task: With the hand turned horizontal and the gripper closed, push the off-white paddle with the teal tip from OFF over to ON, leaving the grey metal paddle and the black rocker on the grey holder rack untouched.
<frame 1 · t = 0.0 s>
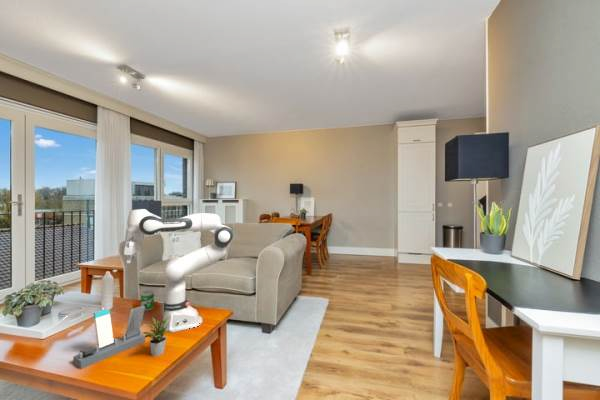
hand: (131, 261, 149), 39 cm above the table, tool pointing down, fingers open, 8 cm apart
water bottle: (108, 308, 179), on the table
black rocker: (88, 350, 119), point 5 cm above the table, hinge at -12.0°
grey holder rack: (111, 351, 127), on the table
house plant: (158, 351, 128), on the table
grey paddle: (135, 321, 134), point 12 cm above the table, hinge at 20.0°
white paddle: (103, 327, 127), point 12 cm above the table, hinge at -20.0°
soda can: (147, 309, 177), on the table
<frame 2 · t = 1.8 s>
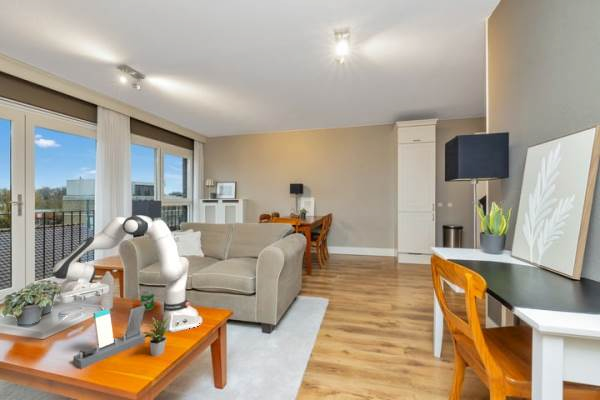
hand: (92, 296, 134), 24 cm above the table, tool horizontal, fingers open, 5 cm apart
nothing on the table moved.
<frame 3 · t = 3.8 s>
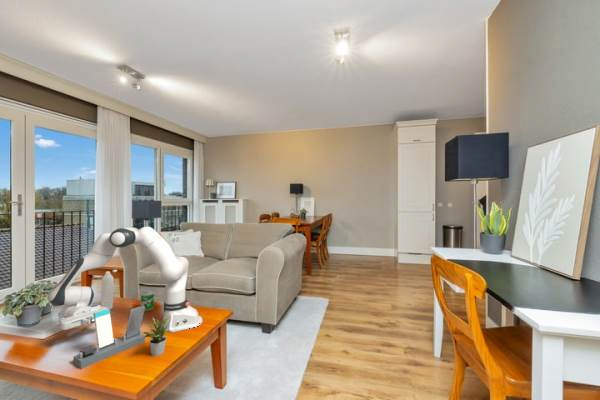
hand: (92, 321, 133), 11 cm above the table, tool horizontal, fingers closed
nothing on the table moved.
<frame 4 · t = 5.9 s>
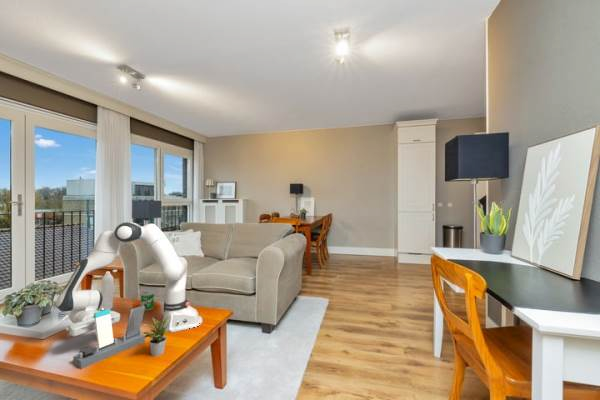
hand: (103, 327, 127), 12 cm above the table, tool horizontal, fingers closed, pressing on white paddle
white paddle: (103, 327, 127), point 12 cm above the table, hinge at -18.9°, touching gripper
everything else where it was.
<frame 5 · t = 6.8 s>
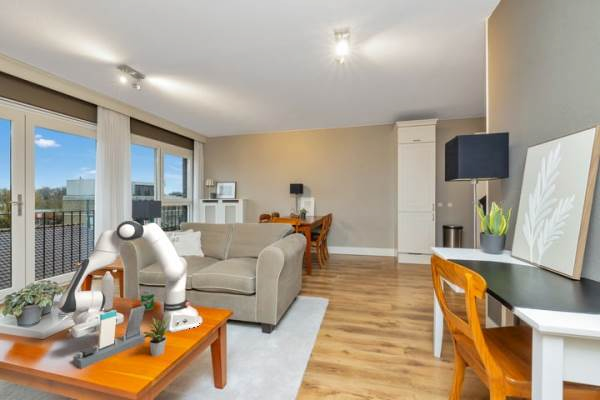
hand: (106, 328, 125), 12 cm above the table, tool horizontal, fingers closed, pressing on white paddle
white paddle: (107, 328, 125), point 12 cm above the table, hinge at 6.0°, touching gripper
everything else where it was.
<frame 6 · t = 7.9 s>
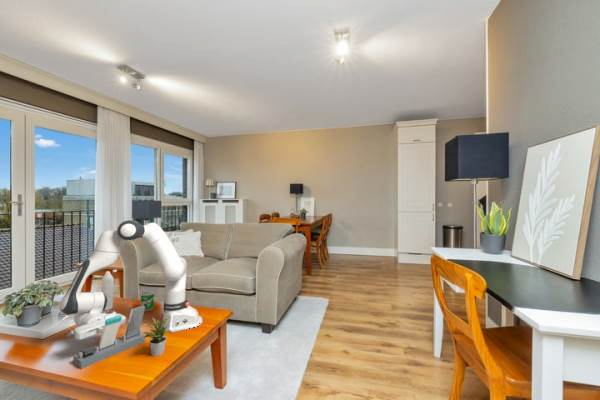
hand: (108, 330, 124), 12 cm above the table, tool horizontal, fingers closed, pressing on white paddle
white paddle: (110, 331, 123), point 11 cm above the table, hinge at 25.5°, touching gripper
everything else where it was.
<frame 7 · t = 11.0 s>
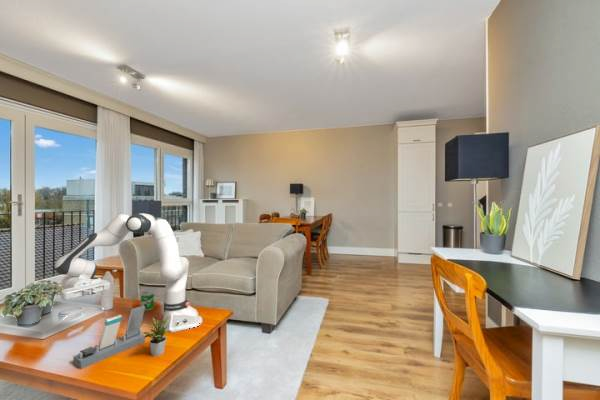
hand: (93, 292, 134), 26 cm above the table, tool horizontal, fingers closed
white paddle: (110, 332, 123), point 11 cm above the table, hinge at 25.5°
everything else where it was.
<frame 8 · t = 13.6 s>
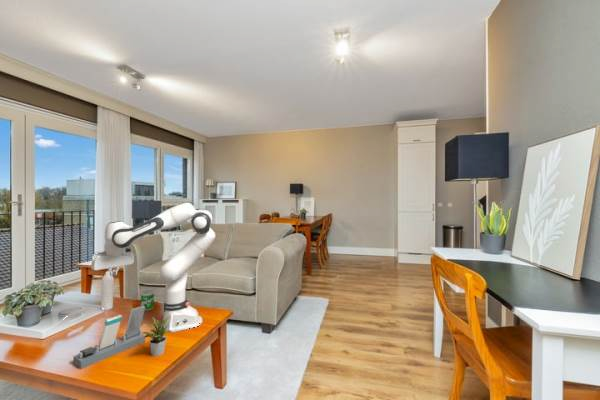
hand: (113, 275, 148), 31 cm above the table, tool pointing down, fingers closed
nothing on the table moved.
at the end: white paddle at +26° (first picture: -20°); grey paddle at +20° (first picture: +20°); black rocker at -12° (first picture: -12°) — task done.
